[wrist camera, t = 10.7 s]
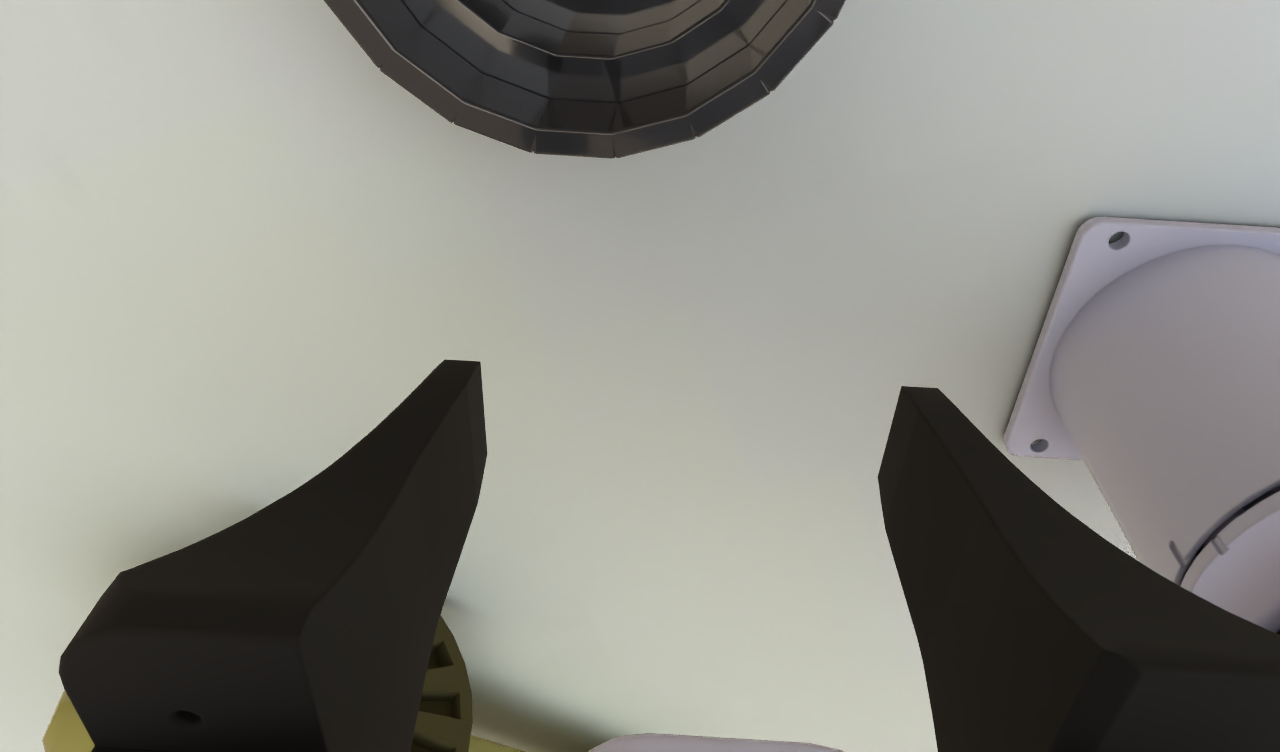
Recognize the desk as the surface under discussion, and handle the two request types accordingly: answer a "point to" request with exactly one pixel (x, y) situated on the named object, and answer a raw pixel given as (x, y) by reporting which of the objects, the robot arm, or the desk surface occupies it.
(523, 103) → the bowl
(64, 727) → the cannon
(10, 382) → the desk surface
